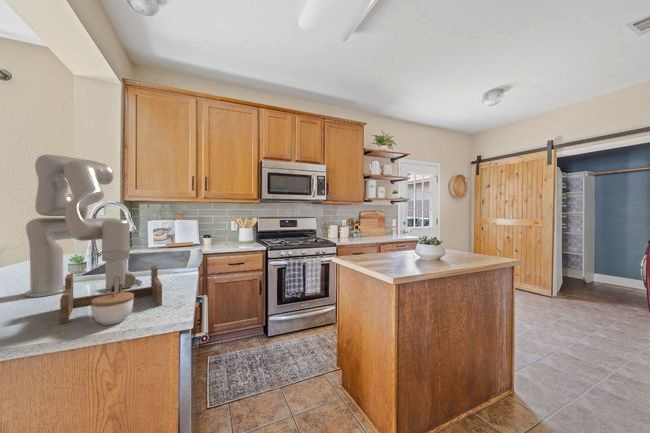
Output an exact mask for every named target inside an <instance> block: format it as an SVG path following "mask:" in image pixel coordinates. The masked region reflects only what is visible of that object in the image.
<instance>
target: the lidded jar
mask: <svg viewBox="0 0 650 433" xmlns="http://www.w3.org/2000/svg"><path fill="white" fill-rule="evenodd" d="M109 293H110V294H105V293H104V294H105V295H102V296H98V297H96V298H94V299H92V301H91V305H90V306H91V314H92V316H93V318H94V319H95V320H96V321H97V323H98V322H99V323H100V324H101V325H103V326H110V325H111V326H112V325H115V324H116V325H117V324H120V323H122V322H123V321H125V320H126V318H127V317H128V316H129V315H130V314H131V313H132V311H133V307H134V298H135V297H134V294H133V293H130V292H119V293H117V294H115V292H109Z"/></svg>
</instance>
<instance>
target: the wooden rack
mask: <svg viewBox="0 0 650 433" xmlns="http://www.w3.org/2000/svg"><path fill="white" fill-rule="evenodd" d="M150 267H151V268H150V272H151V273H150V280H151V281H150V283H151V284H150V285H151V286H146V287H141V288H135V289H126V290H121V292H130V293H133V294H134V298H139V297H145V296H152V298H153V300H154V303H155V305H156V307H160V306H163V284H162V282H161V280H160V279H159V278H158V266H156V265H151V266H150ZM64 286H65V291H64V292H62V295H61V297H60V299H59V302H60V303H59V304H60V306H59V307H60V312H59V313H60V314H59V315H60V325H65V324H68V322H69V321H70V320H69V319H70V317H71V314H72V311H73V308H79V307H86V306H92V305H91V301H92V299H94V298H96V297H98V296H102V295H105V294H110V293H111V292H107V293H101V294H100V293H99V294H93V295H86V296H81V297H80V296H79V297H74V274H73V273H69V274H66V276H65V278H64Z"/></svg>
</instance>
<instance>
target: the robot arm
mask: <svg viewBox="0 0 650 433" xmlns="http://www.w3.org/2000/svg"><path fill="white" fill-rule="evenodd" d="M34 168H35V172H36V176H37V180H38V184H37V190H36V198H35V206H34V207H35V211H36V213H37V214H38V215H41V216H46V217H38V218H33V219H31V220H29V221H28V222H27V223H26V225H25V231H26V235H27V239H28V244H29V270H30V271H29V272H30V275H29V277H30V284H29V285H30V286H29V287H30V289H29V290H27V291H26V292H24V296H25V297H27V298H39V297H41V298H42V297H46V296H53V295H58V294H63V293H64V291H65V285H64V251H63V248H62V246H60V245H59V244H58V243H57V242H56V241H59V240H68V239H69V240H71V239H74V240H77V241H81V242H82V241H85V242H86V241H97V240H98V241H99V240H101V261H103V262H105V290H106V291H109V290H110V291H111V292H115V294H117V293H119V292H121V291H122V288H124V283H125V270H126V260H129V259H130V254H131V253H130V251H131V249H130V247H131V246H130V244H131V243H130V222H129V221H128V220H126V219H118V218H108V217H107V218H106V217H101V218H99V217H98V218H97V217H96V218H93V217H92V218H87V216H88V212H89V211H88V209H89V206H91V205H93V204H96V203H99V202H100V201H101V200H103V198H104V196H105V193H104V191H103V188H102V186H103V185H104V186H106V185H110V184H111V183H112V181H113V180H114V172H113V170H112V168H111V167H110V166H109V165H108V164H106V163H102V162H98V161H94V160H90V159H84V158H76V157H71V156H64V155H57V154H42V155H39V156H38V157H37V158H36V160H35V164H34ZM101 185H102V186H101ZM69 189H70V191H71V193H68V190H69ZM111 292H110V293H111Z"/></svg>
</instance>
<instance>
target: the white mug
mask: <svg viewBox="0 0 650 433" xmlns="http://www.w3.org/2000/svg"><path fill="white" fill-rule="evenodd" d="M142 283H143V281H142V280H140V279H136V276H135V274H134V273H132V272H131V271H130V270H128V269H125V283H124V288H122V289H124V290H125V289H126V290H127V289H130V288H132V287H133V286H134V285H137V286H140V285H142ZM122 289H121V290H122Z"/></svg>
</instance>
